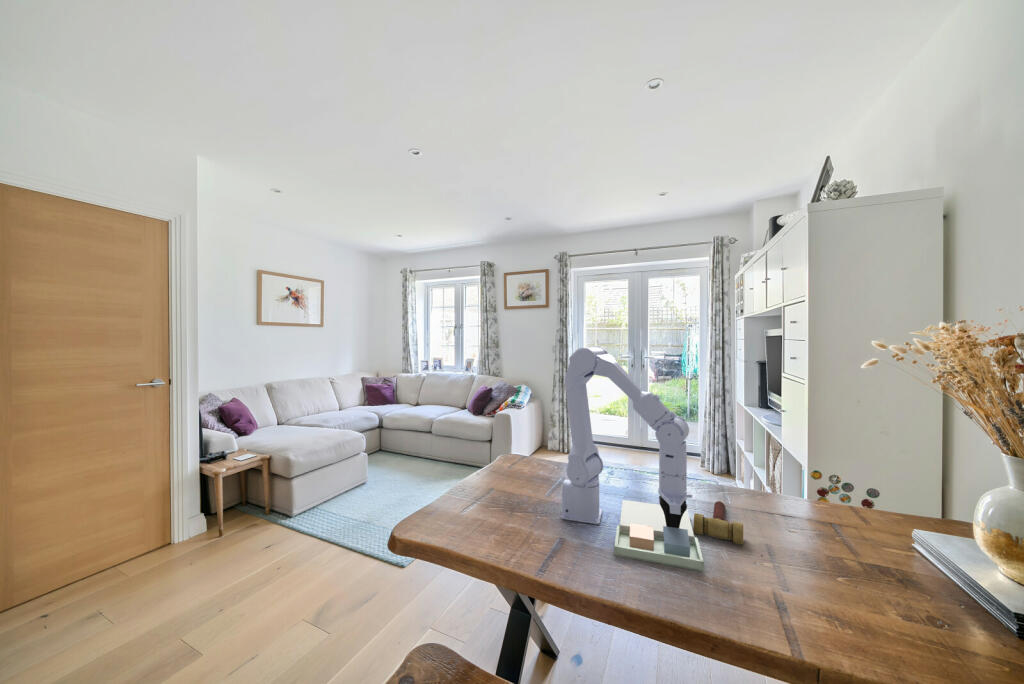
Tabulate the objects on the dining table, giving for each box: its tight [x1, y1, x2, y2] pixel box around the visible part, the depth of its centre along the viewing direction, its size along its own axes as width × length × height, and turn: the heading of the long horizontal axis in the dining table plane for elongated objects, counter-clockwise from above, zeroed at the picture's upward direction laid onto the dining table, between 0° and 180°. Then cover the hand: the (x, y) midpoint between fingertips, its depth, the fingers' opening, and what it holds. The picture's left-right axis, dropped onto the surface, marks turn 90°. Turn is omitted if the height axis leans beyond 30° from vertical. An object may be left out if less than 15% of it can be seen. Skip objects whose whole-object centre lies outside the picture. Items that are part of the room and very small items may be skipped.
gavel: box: [692, 500, 744, 546], centre depth 94 cm, size 21×5×10 cm
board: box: [619, 499, 695, 542], centre depth 92 cm, size 16×14×2 cm
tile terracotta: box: [630, 523, 654, 551], centre depth 83 cm, size 5×5×2 cm
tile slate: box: [663, 526, 690, 557], centre depth 81 cm, size 5×5×2 cm
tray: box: [614, 524, 705, 573], centre depth 81 cm, size 17×9×2 cm, turn 71°
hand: (672, 531), depth 84 cm, fingers closed
